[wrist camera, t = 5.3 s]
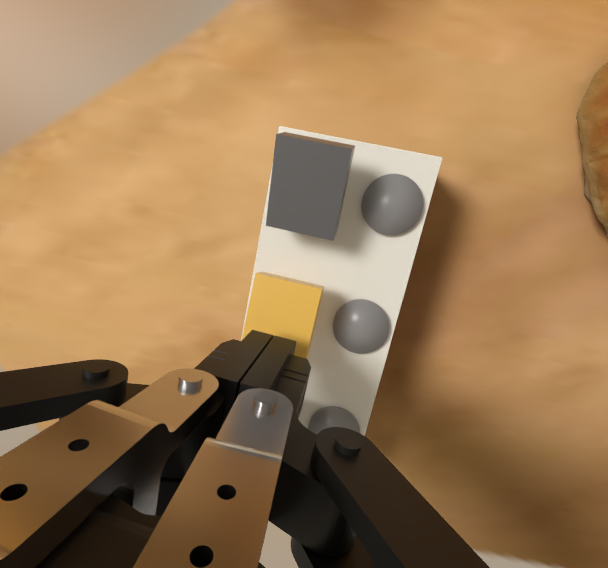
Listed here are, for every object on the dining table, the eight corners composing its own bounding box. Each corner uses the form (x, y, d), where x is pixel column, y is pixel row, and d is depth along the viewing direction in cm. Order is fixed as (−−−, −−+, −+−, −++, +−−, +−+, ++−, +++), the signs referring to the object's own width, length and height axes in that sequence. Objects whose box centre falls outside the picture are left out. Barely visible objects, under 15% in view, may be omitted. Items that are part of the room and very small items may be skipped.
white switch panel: (426, 167, 17) (443, 156, 13) (355, 429, 20) (353, 480, 16) (296, 142, 17) (278, 124, 14) (247, 399, 21) (221, 440, 17)
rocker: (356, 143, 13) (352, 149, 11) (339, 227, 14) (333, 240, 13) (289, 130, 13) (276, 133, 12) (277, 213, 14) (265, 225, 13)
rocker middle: (326, 284, 15) (322, 289, 13) (308, 358, 15) (302, 371, 13) (266, 270, 15) (255, 273, 13) (250, 343, 15) (238, 353, 14)
